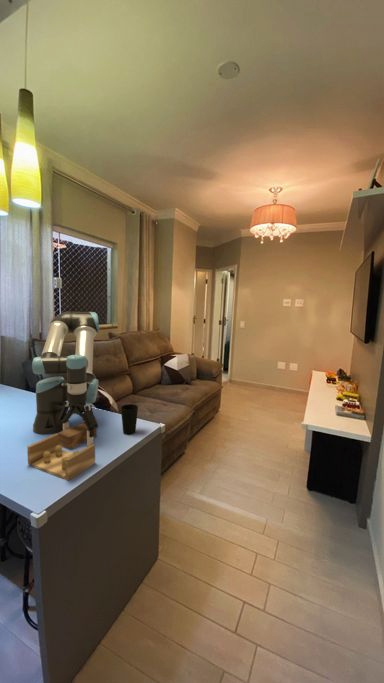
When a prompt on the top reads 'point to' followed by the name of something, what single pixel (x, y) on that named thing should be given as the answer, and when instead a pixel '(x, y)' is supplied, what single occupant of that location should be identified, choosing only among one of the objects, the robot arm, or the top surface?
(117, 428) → the top surface
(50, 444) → the stand
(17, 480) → the top surface
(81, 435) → the brown wooden block
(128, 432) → the cup
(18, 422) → the top surface
